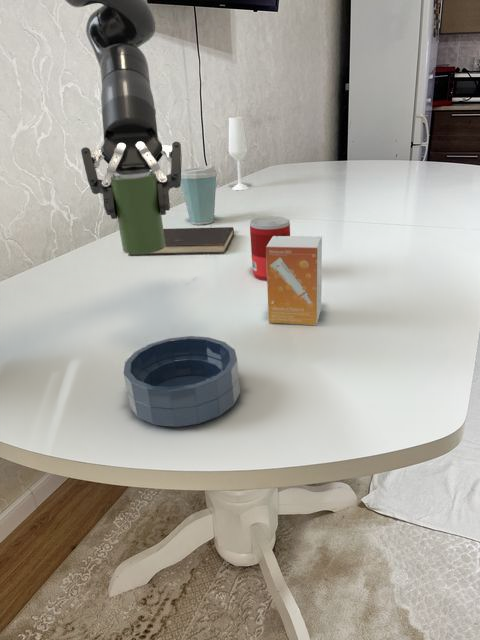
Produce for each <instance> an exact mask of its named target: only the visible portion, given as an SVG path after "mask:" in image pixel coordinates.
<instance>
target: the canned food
mask: <svg viewBox="0 0 480 640" xmlns="http://www.w3.org/2000/svg"><path fill="white" fill-rule="evenodd" d="M249 236H250V237H249V239H250V250H251V251H250V252H251V266H252V267H251V269H252V274H253V276H254V277H255V278H256V279H257V280H261V281H266V282H267V261H266V246H267V245H268V243H269V241H270V240H271V238H272V237H273V236H291V223H290V219H289V218H286V217H284V216H260V217H255V218H253V219H251V220H250V221H249Z"/></svg>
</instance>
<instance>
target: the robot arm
mask: <svg viewBox="0 0 480 640" xmlns="http://www.w3.org/2000/svg"><path fill="white" fill-rule="evenodd" d="M64 1H65V2H66V3H67V4H68V5H70V6H71V7H73V8H83V7H86V6H89V5H90V6H91V5H94V4H100V5H102V6H100V7H98V8H97V9H96V10H95V11H93V12H92V13H91V14H90V15H89V17H88V19H87V22H86V26H85V33H86V37H87V39H88V42H89V44H90V46H91V48H92V50H93V53H94V55H95V58H96V61H97V63H98V65H99V69H100V82H101V94H100V101H101V102H100V103H101V118H102V130H103V144H102V146H101V147H100V149H95V150H90V148H89V147H86V146H85V147H82V148H81V149H80V154H81V157H82V162H83V166H84V170H85V171H84V172H85V174H86V179H87V182H88V185H89V188H90V190H91V193H92V194H94V195H98V194H102V198H103V199H102V201H103V208H104V211H105V214H106V215H107V216H110V218H111V220H115V219H117V220H118V218H117V213H116V207H115V201H114V195H113V190H112V184H111V177H112V176H113V173H114V172H116V171H120V170H126V169H139V168H144V169H151V170H152V172H153V173H155V174H156V179H157V188H158V197H159V206H160V212H161V216H166V215H167V211H170V210H171V203H170V201H171V200H170V193H169V191H170V190H171V189H173V188H175V189H179V188H180V187H182V186H181V171H182V164H183V163H182V162H183V160H182V158H183V157H182V155H183V154H182V145H181V142H180V141H173V142H172V143H171V145H165V144H164V145H163V144H162V142H161V141H160V140H159V134H158V133H159V132H158V125H157V117H156V115H157V113H156V108H155V100H154V95H153V92H152V88H151V80H150V78H151V77H150V70H149V63H148V60H147V57H146V55H145V53H144V52H143V51H142V50H141V49H140V48H139V47H141V46H143V45H144V44H146V43H147V42H148V41H150V40H151V39H152V38H153V37H154V35H155V32H156V19H155V15H154V13H153V11H152V8H151V6H150V5H149V4H148V2H147V1H146V0H64ZM163 156H165V158H166V160H167V162H169V163H171V164H170V173H169V174H165V173H164V171H163V169H161V167H160V164H159V162H160V160H161V159H162V157H163ZM102 160H104V161H105V163H107V167H106V172H105V175H104V176H103V178H102V179H99V177H98V173H97V169H99V166H100V165H101V162H102Z"/></svg>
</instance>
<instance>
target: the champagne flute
mask: <svg viewBox="0 0 480 640" xmlns="http://www.w3.org/2000/svg"><path fill="white" fill-rule="evenodd" d="M228 153H229V155H230V156H231V158H232V159H234V160H235V161H236V167H237V181H238V182H237V184H236V185H234V186H233V187H232V188H231V190H232V191H245V190H249V189H250V187H249V186H247V185H246V184H244V183H243V182H242V167H241V161H242V160H243V159H244V157H246V155H247V153H248V146H247V139H246V132H245V123H244V118H243V116H229V117H228Z"/></svg>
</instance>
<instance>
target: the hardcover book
mask: <svg viewBox="0 0 480 640" xmlns="http://www.w3.org/2000/svg"><path fill="white" fill-rule="evenodd" d="M163 231H164V238H165V248H163V249H162V250H159V251H157V252H153V253H147V254H129V253H127V256H128V257H134V256H181V255H184V256H185V255H187V256H188V255H225V254H226V252H227V250H228V248H229V246H230V244H231V242H232V241H233V238H234V237H235V228H234V226H223V227H221V226H219V227H217V226H216V227H182V228H181V227H180V228H179V227H178V228H176V227H175V228H163Z"/></svg>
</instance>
